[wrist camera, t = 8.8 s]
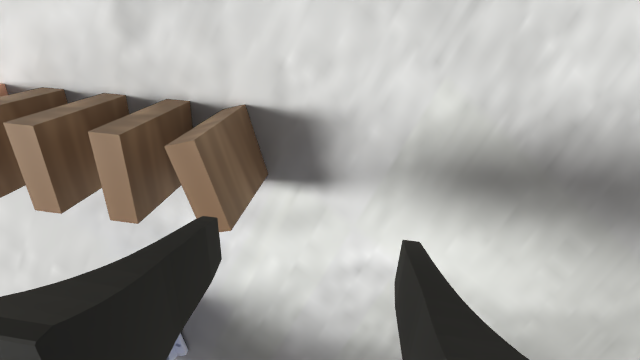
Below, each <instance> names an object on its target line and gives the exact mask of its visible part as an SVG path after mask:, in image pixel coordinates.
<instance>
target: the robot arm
mask: <svg viewBox="0 0 640 360" xmlns="http://www.w3.org/2000/svg"><path fill="white" fill-rule="evenodd" d="M221 259H222V258H221V248H220V238H219V228H218V218H216V217H208V216H202V217H199V218H197V219H196V220H194V221H192V222H190V223H188V224H187V225H185V226H183V227H181V228H180V229H178V230H176V231H174V232H173V233H171V234H169V235H167V236H165V237H164V238H162V239H160V240H158V241H156V242H155V243H153V244H151V245H149V246H147V247H145V248H143V249H141V250H139V251H137V252H135V253H133V254H131V255H129V256H127V257H125V258H122V259H120V260H118V261H115V262H113V263H111V264H108V265H106V266H103V267H101V268H98V269H96V270H93V271H90V272H87V273H84V274H81V275H79V276H76V277H73V278H70V279H67V280H64V281H60V282H57V283H54V284H50V285H47V286H43V287H40V288H36V289H32V290H28V291H24V292H20V293H15V294H11V295H6V296H2V297H0V360H175V359H176V357H177V356H185V355H186V354H187V352H188V349H187V346H186V344H185V342H184V340H183V337H182V335H181V331H182V329H183V328H184V326H185V324H186V323H187V321H188V319H189V318H190V316H191V315H192V313H193V311H194V310H195V308H196V307H197V305H198V303H199V302H200V300H201V298H202V297H203V295H204V294H205V292H206V290H207V289H208V287H209V285H210V284H211V282H212V280H213V278H214V276H215V273H216V271H217V269H218V266H219V264H220V262H221ZM395 309H396V317H397V324H398V331H399V338H400V345H401V352H402V359H403V360H529V359H528V358H526V357H525V356H524V355H522V354H521V353H520V352H518V351H517V350H516V349H515V348H513V347H512V346H511V345H510V344H508V343H507V342H506V341H505V340H504V339H503V338H501V337H500V336H499V335H498V334H497V333H496V332H494V331H493V330H492V329H491V328H490V327H489V326H488V325H487V324H486V323H484V322H483V321H482V320H481V319H480V318H479V317H478V316H477V315H476V314H475V313H474V312H473V311H472V310H471V309H470V308H469V307H468V305H467V304H466V303H465V302H464V301H463V300H462V299H461V298H460V296H459V295H458V294H457V293H456V292H455V291H454V289H453V288H452V287H451V286H450V284H449V283H448V282H447V280H446V279H445V278H444V276H443V275H442V274H441V272H440V271H439V270H438V268H437V267H436V265H435V264H434V263H433V261H432V260H431V258H430V257H429V255H428V254H427V252H426V251H425V249H424V248H423V246H422V245H421V243H420V242H416V241H408V240H403V241H402V246H401V251H400V257H399V262H398V267H397V272H396V278H395Z"/></svg>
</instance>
